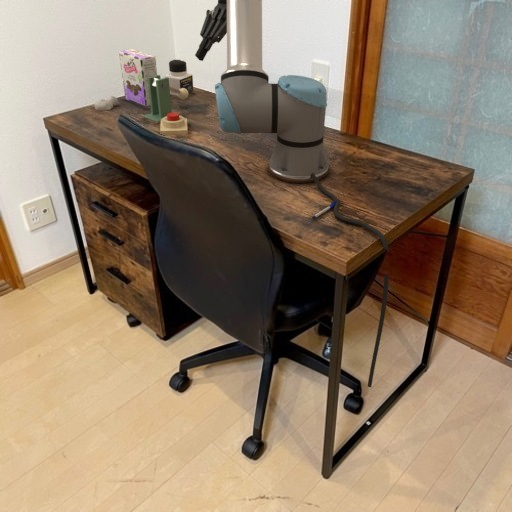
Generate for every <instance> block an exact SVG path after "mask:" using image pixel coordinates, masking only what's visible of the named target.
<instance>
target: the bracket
mask: <svg viewBox="0 0 512 512" xmlns="http://www.w3.org/2000/svg"><path fill="white" fill-rule="evenodd" d="M154 78H157V79H158V80H156V87H155V86H152V83H153V80H154ZM147 80H148V89H149V98H150V106H149V107H150V113H146V114H143V115H141V117H143V118H145V119H148V120H151V121H152V122H156V123H158V122H161V119H162V118H164V117H166V116H167V114H168V113H172V112H175V113H179V115H182V113H181V112H179V111H177V110H176V111H175V110H172V101H171V100H172V99H171V94H170V88H169V78H168V77H165V76H164V77H162V78H161V74H157V75H156V76H152V77H148V78H147Z"/></svg>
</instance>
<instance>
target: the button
mask: <svg viewBox="0 0 512 512" xmlns="http://www.w3.org/2000/svg"><path fill="white" fill-rule="evenodd" d="M179 113H180V112H179ZM179 113H175V112H172V113H168V114H167V120H168V121H178V120H179V116H180V114H179Z"/></svg>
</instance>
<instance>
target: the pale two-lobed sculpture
mask: <svg viewBox="0 0 512 512" xmlns="http://www.w3.org/2000/svg"><path fill="white" fill-rule="evenodd" d="M93 105H94V106H93V107H94V109H95V110H96V111H99V112H105V111H111V110H112V109H114V107H118V105H119V100H118V98H117V97H116V96H114V95H110V97H109V98H107V99H104V98H103V99H101V100H97V101H95V102H94V103H93Z"/></svg>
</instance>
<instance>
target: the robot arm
mask: <svg viewBox="0 0 512 512" xmlns="http://www.w3.org/2000/svg"><path fill="white" fill-rule="evenodd" d="M205 15H206V16H205V18H204V21H203V24H202V27H201V30H200V33H199V35H200V37H201V38H202V39H201V41H200V43H199V45H198V49H197V50H196V52H195V54H194V56H195V57H196V59H198V60H199V61H201V62H203V61H204V60H205V58H206V56H207V54H208V52H210V50H211V49H212V47H213V45H214V44H216V43H218V44H219V43H220V42H221V41H222V40H223V38H225V36H226V70H224V71H223V73H222V74H221V76H220V82H218V83H215V84H214V93H215V101H216V109H217V114H218V121H219V126H220V129H221V130H222V132H224V133H227V134H238V135H242V134H276V143H275V146H274V148H273V151H272V154H271V157H270V160H269V163H268V166H269V167H268V170H269V173H270V175H271V176H273V177H274V178H276V179H277V180H280V181H284V182H286V183H294V184H308V183H313V182H314V183H315V185H316V186H317V188H318V189H319V191H321V192H322V193H323V194H324V195H325V196H327V197H328V198H330V199H332V200H333V202H335V201H336V200H338V201H336V204H335V206H334V207H333V214H334V216H335V217H336V218H337V219H339V220H340V221H342V222H345V223H348V224H351V225H356V226H359V227H362V228H364V229H366V230H368V231H370V232H372V233H373V234H376V236H377V237H378V238H379V239H380V242H381V244H382V246H383V249H384V250H386V251H388V250H390V247H389V244H388V241H387V239H386V237H385V235H384V234H383V233H382V232H381V231H380V230H379V229H377V228H376V227H373V226H372V225H369V224H368V223H366V222H364V221H361V220H356V219H353V218H349V217H345V216H344V215H341V214H340V213H339V208H340V202H339V201H340V199H339V198H337V196H336V195H334V193H331V191H329V190H327V189H326V188H325V187H324V186H323V185H322V183H321V180H322V179H324V178H325V177H327V176H328V173H329V161H328V157H327V153H326V149H325V145H324V135H325V124H326V123H325V122H326V111H327V106H328V103H327V93H328V92H327V88H326V86H325V85H324V84H323V83H322V82H321V81H319V80H317V79H315V78H311V77H308V76H304V75H296V74H287V75H282V76H280V77H279V78H278V80H277V83H269V80H270V78H269V74H268V73H267V72H266V71H265V70H264V69H263V0H217V4H216V5H215V6H214V8H213V9H212V10H210V9H207V10H206V13H205ZM389 279H390V274H384V275H383V289H382V292H383V293H382V301H381V307H380V315H379V321H378V326H377V332H376V336H375V337H376V338H375V343H374V348H373V353H372V358H371V364H370V367H369V368H370V369H369V375H368V379H367V380H368V381H367V387H368V388H372V386H373V379H374V375H375V369H376V364H377V358H378V353H379V348H380V343H381V339H382V333H383V328H384V323H385V316H386V309H387V302H388V295H389V284H390V283H389V281H390V280H389Z"/></svg>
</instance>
